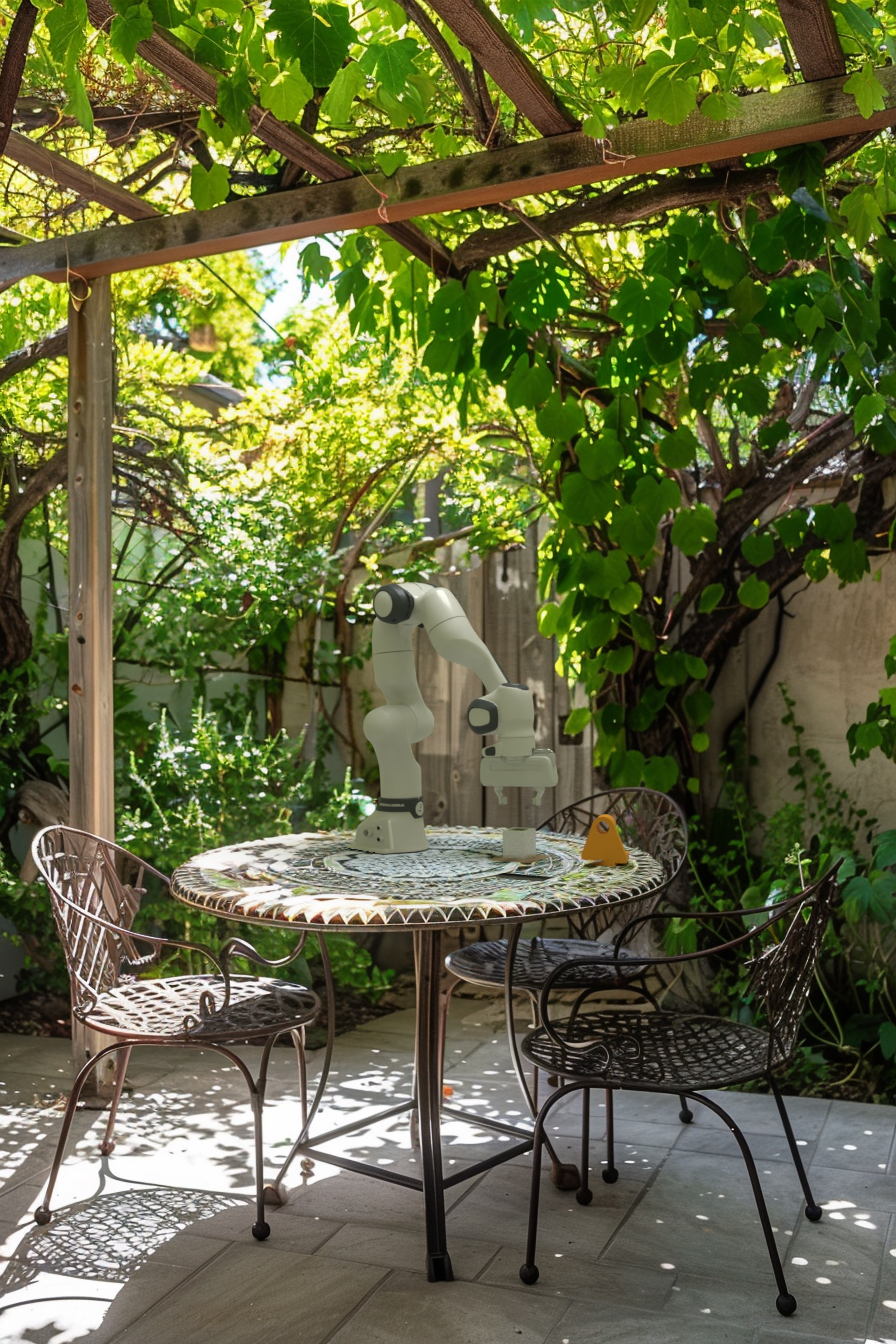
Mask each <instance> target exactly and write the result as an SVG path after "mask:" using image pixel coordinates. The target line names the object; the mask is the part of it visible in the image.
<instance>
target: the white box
mask: <svg viewBox="0 0 896 1344" xmlns="http://www.w3.org/2000/svg"><path fill="white" fill-rule="evenodd" d="M536 834H537V831H536V828H535V827H517V826H513V827H511V828H506V829H503V830H502V855H503V859H513V860H527V859H531V858H534V857H536V855H537V844H536V843H537V840H536V839H537V835H536Z"/></svg>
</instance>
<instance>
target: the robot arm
mask: <svg viewBox="0 0 896 1344" xmlns="http://www.w3.org/2000/svg"><path fill="white" fill-rule="evenodd" d="M372 599H373V600H372V610H373V613H374V615H375V616H376V617H375V618H374V619H373V624H372V633H371V649H372V650H371V651H372V660H373V661H372V662H373V672H374V673H373V675H374V682H375V685H376V686H377V688H379V690H380V691H381V693H382V694H383V696H384V699H385V703H386V705H381V706H379V707H376V708H374V709H373V710H370V711H369V712H368V713H367V714H366V715H365V717H364V719H363V722H362V723H363V724H362V730H363V734H364V736H365V737H366V739H367V740H368V741H369V742H370V744H371V745H372V748H373V749H374V752H375V755H376V759H377V763H378V769H379V780H380V781H379V785H380V796H379V797H378V798H376V799H373V800H372V802H373V803H372V805H376V806H375V810H374V811H373V812H372V813H371V814H370V815H369V816H367V817H366V818H365V819H364V820H363V821H361V823H359V824H358V826H357V827H356V831H355V839H354V842H351V843H349V844H347V845H346V846H347V847H346V849H347V848H353V849H358V850H364V851H363V852H366V851H369V852H368V853H373V852H375V853H376V854H385V855H387V854H397V853H411V852H412V853H413V852H420V851H421V852H422V851H425V850H428V849H429V848H430V846H429V843H428V840H427V834H426V829H425V824H424V823H425V822H424V814H425V813H424V811H425V809H424V808H425V805H424V804H425V803H424V796H423V795H422V790H423V788H422V767H421V765H420V764H419V762H418V761H417V760H416V758H415V755H414V753H413V750H412V745H411V744H417V743H419V742H421V741H423V740H425V739H426V738H428V737H429V736H430V735H431V734H432V733H433V731H434V730H435V729H434V728H435V716H434V714H433V712H432V711H431V710H430V709H429V708H428V706H427V705H426V703H425V701H424V698H423V696H422V692H421V690H420V687H419V684H418V680H417V673H416V665H415V664H416V663H415V654H414V646H413V644H414V643H413V633H414V630H415V629H416V627H418V628H420V629H423V628H424V629H425V631H426V634H427V635H428V638H429V640H430V643H431V645H432V646H433V648H434V650H435V651H436V653H437V654H438V655H439V656H440V657H441V658H442V659H444V660H446V661H448V662H450V663H452V664H453V663H454V664H457V665H460V666H463V667H464V668H467V669H469V670H471V671H472V672H473V673H474V674H476V675H477V676H478V677H479V678H480V680H481V682H482V684H483V685H484V687H485V689H486V690H487V692H488V694H486V695H483V696H481V697H479V698H475V699H473V700H472V701H471V702H470V703H469V705H468V707H467V708H466V717H465V718H466V723H467V727H469V729H470V731H472V733H474V734H476V735H479V736H497V735H498V738H499V739H498V742H495V743H493V744H491V745H489V746H485V747H483V748H482V749H481V756H482V757H483V758H482V759H481V761H480V767H479V779H480V784H482V786H483V787H493V791H494V793H495V794H496V797H497V798H498V804H499V806H500V805H503V806H505V805H508V797H507V796H505V795H504V794H503V792H502V791H503V790H504V787H517V788H518V787H521V788H522V787H523V788H525V787H527V788H528V787H531V788H534V787H535V792H537V793H536V795H535V797H532V798H531V799H532V805H533V806H541V805H542V797H543V795H544V793H545V790H546V788H551V787H556V786H557V785H558V782H559V775H558V768H557V754H556V753H555V752H554V751H553V750H552V749H551V748H536V734H535V730H534V720H535V709H534V700H533V694H532V691H531V689H530V687H529V686H528V685H526V684H523V683H518V682H511V681H510V680H509V677H508V676H507V675H506V673H505V671H504V670H503V668H502V666H501V664H500V663H499V662H498V659H497V658H496V657H495V655H494V654H493V652H492V651H491V649H490V648H489V647H488V646H487V644H486V643H484V642H483V641H482V639H481V638H480V637H479V635H478V633H477V632H475V630H474V628H473V626H472V625H471V622H470V621H469V619H468V617H467V615H466V613H465V611H464V610H463V607H462V606H461V604H460V602H459V601H458V599H457V598H456V597H455V596H454V594H453V593H452V592H451V590H450V589H448V588H447V587H440V586H439V585H435V584H433V583H427V582H426V583H422V582H412V581H411V582H403V583H387V584H385V585H382V586H380V587H378V589H377V590H376V591H375V593H374V595H373V598H372ZM358 850H357V851H358ZM375 853H374V854H375Z"/></svg>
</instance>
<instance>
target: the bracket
mask: <svg viewBox="0 0 896 1344" xmlns="http://www.w3.org/2000/svg"><path fill="white" fill-rule="evenodd" d="M601 822H603V823H605V824H607V825H608V830H607V831H605V830H602V828H601V826H600V823H601ZM580 857H581V859H580V860H593V861H597V862H594V863H591V865H592V867H616V866H617V865H618V864H627V862H628V861H629V860H630V851H629V850H626V849H625V847H624V844H623V841H622V839H621V836H620V834H619V831H618V828H617V822H616V819H615V818H614V817H613V816H612V815H610V814H605V813H603V814H600V815H598V817H597V818H595V819H594V820H593V822H592V824H591V827H590V829H589V831H588V835H587V837H586V841H585V843H584V846H583V849H582V852H581V856H580Z"/></svg>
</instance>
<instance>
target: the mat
mask: <svg viewBox="0 0 896 1344" xmlns="http://www.w3.org/2000/svg"><path fill="white" fill-rule="evenodd" d="M495 875H496V876H495V877H496V879H497V878H498V879H508V880H509V879H510V880H520V881H531V882H532V881H533V882H544V881H547V880H550V879H553V878H554V876H547V875H546V876H545V875H535V874H524V873H523V874H522V873H509V872H502V873H499V874H495Z"/></svg>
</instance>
